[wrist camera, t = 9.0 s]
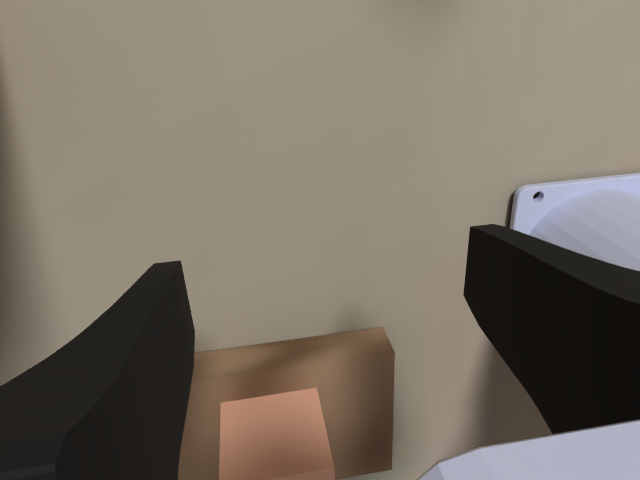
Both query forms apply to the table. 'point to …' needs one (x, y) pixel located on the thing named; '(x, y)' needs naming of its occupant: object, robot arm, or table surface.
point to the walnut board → (293, 375)
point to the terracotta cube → (275, 438)
